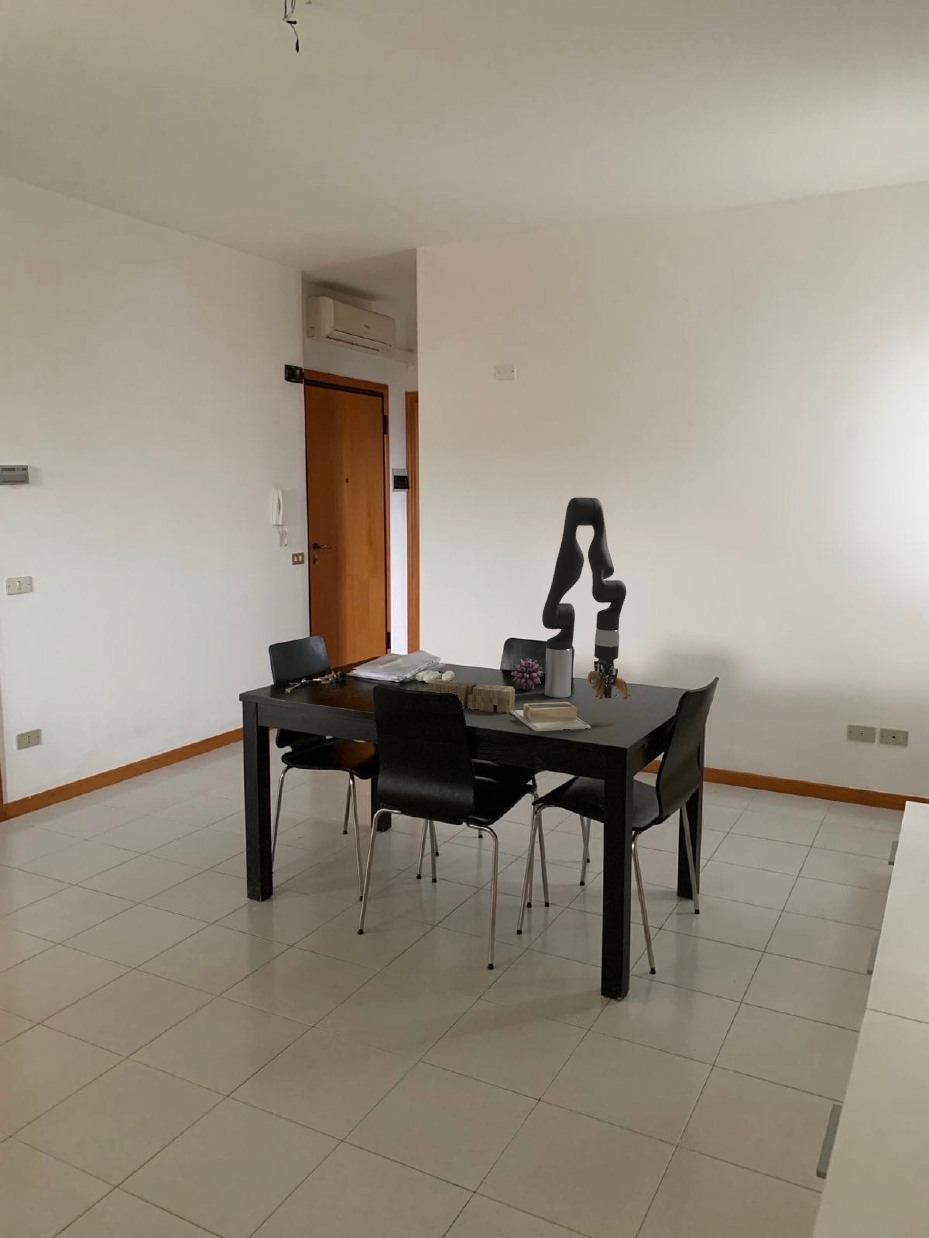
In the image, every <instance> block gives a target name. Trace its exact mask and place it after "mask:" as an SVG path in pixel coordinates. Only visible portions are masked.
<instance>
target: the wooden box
mask: <svg viewBox="0 0 929 1238" xmlns="http://www.w3.org/2000/svg"><path fill="white" fill-rule="evenodd" d="M577 709H578V708H577V706H575V705H573V704H571V703H570V702H569V701H562V702H561V701H560V702H538V703H537V702H536V703H523V709H522V710H523V716H524V717H525V718H526V719H528V720H529V721H530V722H545V721H565V720H576V717H577V713H578V712H577Z"/></svg>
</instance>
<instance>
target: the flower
mask: <svg viewBox="0 0 929 1238" xmlns="http://www.w3.org/2000/svg"><path fill="white" fill-rule="evenodd" d="M537 662H538V661H537V660H536V659H535V660H534V661H532V659H531V658H528V657H526V659H525V661H524V660H523V659H519V665H518V664H513V665H512V666H513V668H514V669H515V671H511V676H512V677H513V676H514V678H513V679H512V682H515V686H516V685H517V688H519V687H522V689H523V690H525V691H528V690H529V687H530V688H531V689H533V690H534V688H535V684H539V685H540V684H541V681H540V677H541V678H542V677H543V676H544V675H543V673H544V672H543V671H542V670H543V667H542V666H541V667H540V666H539V663H537Z"/></svg>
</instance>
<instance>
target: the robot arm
mask: <svg viewBox="0 0 929 1238" xmlns="http://www.w3.org/2000/svg"><path fill="white" fill-rule="evenodd" d="M603 509H604V508H603V504H602V503H601V501H600V499H598V498H596V497H573V498H571V499H570V500H569V501H568V504H567V507H566V511H565V516H564V524H563V531H562V538H561V542H560V547H559V551H558V553H557V558H556V562H555V566H554V571H553V577H552V580H551V584H550V589H549V592H548V594H547V597H546V600H545V602H544V606H543V609H542V614H541V615H542V616H541V617H542V618H541V619H542V621H541V622H542V625H543V627H544V628H545V629H546V630H560V631H559V632H558V633H557V634H555V635H554V636H552V637H550V638H547V639H546V643H545V644H546V645H545V647H546V648H545V679H544V680H545V681H544V682H545V685H544V695H545V696H546V697H551V698H568V697H571V692H572V691H571V690H572V688H571V687H572V667H573V666H572V661H573V660H572V659H573V656H572V655H573V653H572V652H573V643H574V642H573V641H574V636H575V635H574V633H575V621H576V611H575V607H574V606H573V604H572V603H567V602H564V603H563V602H562V599H563V598H564V596H565V595H566V594H567V593H568V592H569V591H570V590H571V589H572V588H573V587H574V586H575V585H576V584H577V582H578V581H579V580H580V578H581V575H582V572H583V567H584V564H585V557H584V553H583V550H582V549H581V547H580V544H579V542H578V539H577V531H578V527H581V526H582V527H584V526H585V527H586V526H589V527H590V526H591V527H592V530H593V537H592V540H591V542H590V544H589V547H588V550H587V551H588V552H587V559H588V563H589V566H590V570H591V576H592V577H591V578H592V581H591V582H592V585H591V586H592V587H591V595H592V597H593V599H594V600H595V601H596V602H597V603H599V604H606V603H609V606H608V607H607V608H605V609H601V610H599V611H597V613H596V625H595V626H596V627H595V628H596V629H595V636H594V637H595V638H594V655H593V656H594V658H596V659H597V660H594V661H593V668H594V671H596V672H598V673H599V674H601V675H602V677H603V679H604V684H605V686H604V692H603V698H604V699H611V698H612V691H613V689H612V686H615V685H616V680H617V678H618V673H619V669H618V668H615V663H614V662H615V660H617V659H618V658H619V647H620V631H619V630H620V617H621V614H622V609H623V606H624V604H625V603H624V602H625V600H626V596H627V586H626V584H625V583H624V582H623V581H622V580H618V579H616V580H613V579H612V580H611V579H610V580H609V578H610V577H612V576H613V575H614V573H615V567H614V564H613V560H612V558H611V553H610V551H609V545H608V538H607V537H608V536H607V530H606V522H605V515H604V510H603ZM607 679H608V681H607Z"/></svg>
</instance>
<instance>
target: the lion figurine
mask: <svg viewBox="0 0 929 1238" xmlns="http://www.w3.org/2000/svg"><path fill="white" fill-rule="evenodd" d="M587 674H588V675H587V677H586V678H587V683H588V685H589V686H590V687H591V689H593V690H594V691H596V695H595V696H594V697H595V698H596V699H598V700H601V701H602V700H603V699H604V694H603V692H604V686H605V684H604V679H603V677H602V675H601V674H599V673H598V672H596V671H595V670H594V671H590V672H589V673H587ZM607 681H608V679H607ZM627 685H628V684H627V683H626V680H625V679H623V678H621V677H617V680H616V685H615V686H612V690H613V689H616V694H615V695H613V698H618V697H619V695H621V693H622V694H623V695H624V697H623V700H628V699H629V697H631V694H629V690H628V686H627Z"/></svg>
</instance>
